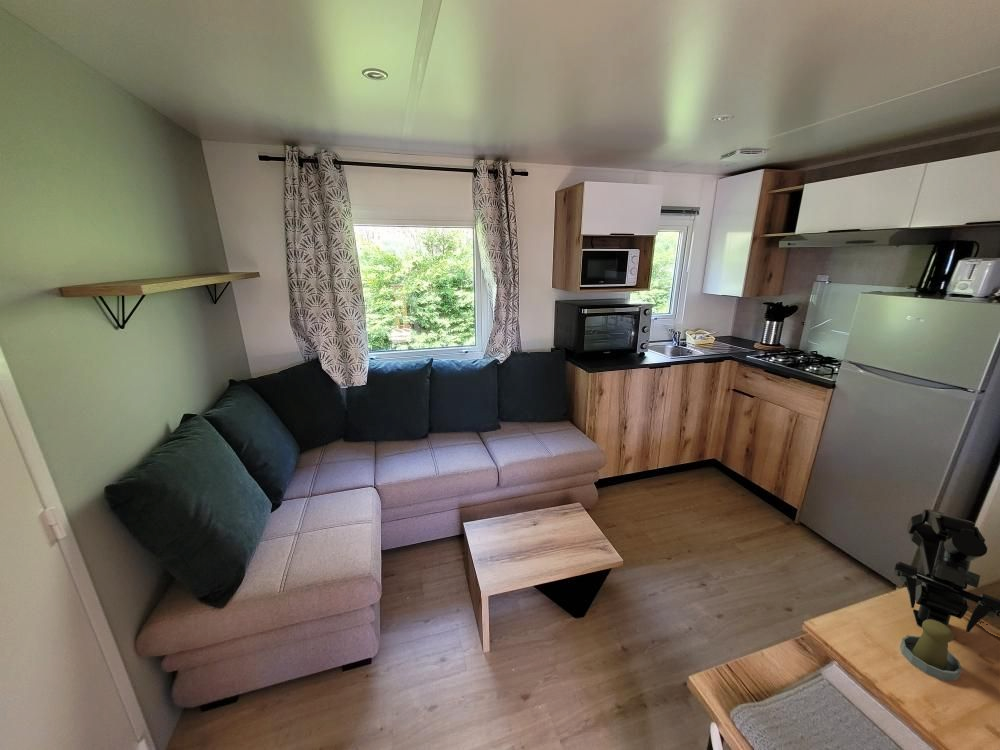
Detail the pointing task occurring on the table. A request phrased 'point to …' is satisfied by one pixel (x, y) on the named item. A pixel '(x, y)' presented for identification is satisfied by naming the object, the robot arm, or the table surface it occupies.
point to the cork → (933, 644)
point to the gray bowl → (948, 674)
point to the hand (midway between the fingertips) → (938, 619)
